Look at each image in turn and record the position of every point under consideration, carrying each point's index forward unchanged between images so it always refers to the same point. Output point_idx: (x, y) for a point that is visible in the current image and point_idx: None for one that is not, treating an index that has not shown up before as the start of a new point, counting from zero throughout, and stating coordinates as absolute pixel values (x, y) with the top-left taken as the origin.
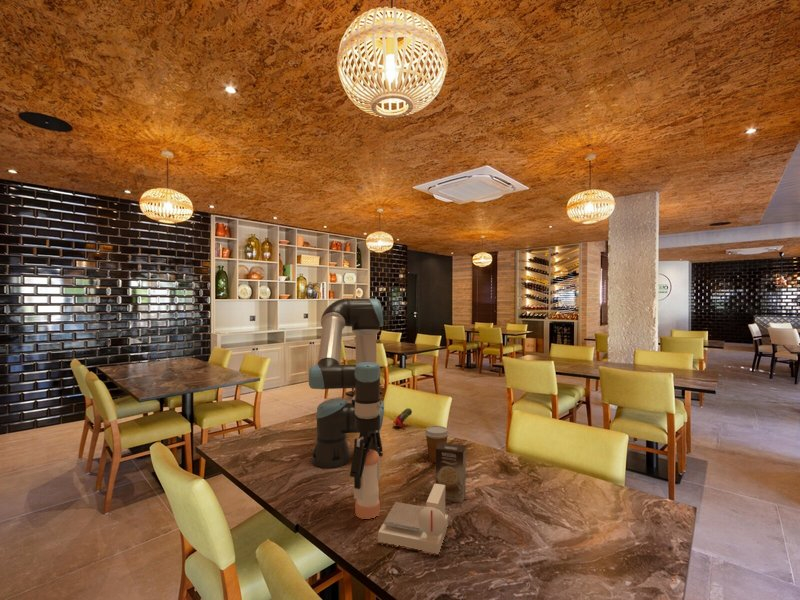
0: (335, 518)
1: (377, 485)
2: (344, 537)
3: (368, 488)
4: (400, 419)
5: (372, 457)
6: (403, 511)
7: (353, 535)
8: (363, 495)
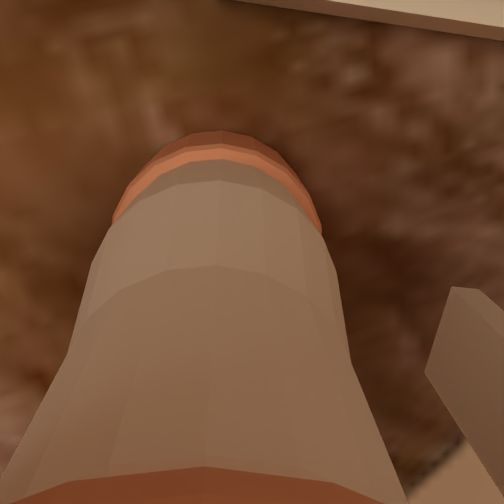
0: None
1: (216, 207)
2: (491, 281)
3: (339, 295)
4: None
5: None
6: None
7: (473, 237)
8: (477, 305)
